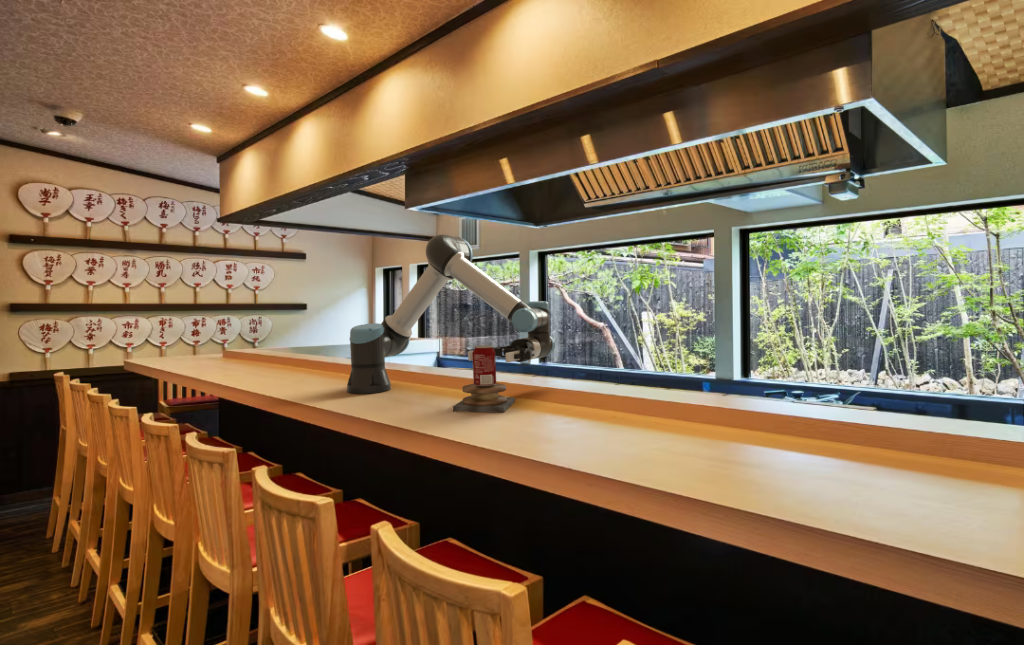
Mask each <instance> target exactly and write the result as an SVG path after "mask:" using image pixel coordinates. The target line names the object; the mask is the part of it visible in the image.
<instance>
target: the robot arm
mask: <svg viewBox="0 0 1024 645" xmlns="http://www.w3.org/2000/svg"><path fill="white" fill-rule="evenodd" d="M473 251H474V250H473V248H472V246H471V244H470V243H469V242H468V241H467V240H466V239H464V238H462V237H460V236H452V235H450V234H449V235H448V234H437V235H435V236H433V237H432V238H430V239H429V241H428V242H427V244H426V247H425V257H426V259H427V263H428V265H427V268H426V269H425V270H424V271H423V273H422V274H421V276H419V279H417V281H416V283H415V284H414V285H413V286H412V288H411V290H410V291H409V292H408V293H407V295H406V296H405V297H404V299H403V300H402V301H401V303H400V304H399V306H398V307H397V308H396V310H395V311H394V313H393V314H392V315H387V316H385V317H384V319H383V321H382V322H381V323H378V322H376V323H366V324H365V323H364V324H358V325H355V326H353V327H352V328H350V330H349V342H350V343H349V344H350V346H349V347H350V366H351V368H350V369H351V370H350V374H349V377H348V380H347V383H346V384H347V385H346V392H347V393H348V394H360V395H361V394H362V395H363V394H376V393H377V394H378V393H382V392H383V393H384V392H388V391H390V390H391V389H392V384H391V379H390V378H389V375H388V372H387V370H386V359H385V358H389V357H394V356H399V355H400V354H401V353H403V352H405V351H406V350H407V349H408V347H409V345H410V338H411V337H412V335H413V331H412V328H413V327H414V326H415V325H416V323H417V322H418V321H419V319H420V318H421V316H422V315H423V314H424V312H425V311H426V310H427V308H429V305H431V303H432V302H433V301H434V299H435V298H436V297H437V295H438V294H439V293H440V291H441V290H442V289H443V288H444V286H445V285H446V283H447V282H448V281H453V280H456V281H457V282H459V283H460V284H462V285H463V286H464V287H465V288H466V289H468V290H470V292H472V293H473V294H474V295H475V296H477V297H478V298H480V300H482V301H483V302H484V303H486V304H487V305H489V306H490V307H491V308H493V309H494V310H495V311H496V312H498V313H499V314H500V315H501V316H503V318H506V319H507V320H508V321H509V322H510V323H511V325H512V327H513V328H514V329H515V330H516V331H518V332H519V333H527V337H523V338H517V339H514V340H512V341H511V343H510V345H509V344H508V345H505V346H495V347H494V346H493V349H494V351H495V357H499V358H501V359H502V358H505V363H507V364H508V363H512V362H516V363H524V362H528V363H529V362H531V361H532V360H535V359H540V358H545V357H549V356H550V355H551V354H553V353H554V351H555V349H556V341H555V340H554V338H553V337H552V336H551V333H550V312H551V311H550V306H549V302H548V301H545V300H544V301H543V300H539V301H538V300H537V301H535V300H534V301H528V302H527V303H525V302H524V301H522V300H521V299H520V298H518V296H516V295H514V294H513V293H512V292H511V291H509V290H508V289H507V288H505V287H504V286H503V285H502V284H500V283H499V282H498V281H496V280H495V279H494V278H492V277H491V276H489V275H488V274H487V273H486V272H484V271H483V270H482V269H480V268H479V267H478V266H476V265H475V264H474V263H472V262H473V258H474V252H473ZM473 351H474V350H469V351H467V357H468V361H473V357H472V352H473Z"/></svg>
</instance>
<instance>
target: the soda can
mask: <svg viewBox="0 0 1024 645" xmlns="http://www.w3.org/2000/svg"><path fill="white" fill-rule="evenodd" d="M493 348H494V346H493V345H491V344H485V345H474V347H473V350H472V351H473V352H472V357H473V360H472V377H473V378H472V379H473V380H472V381H473V383H472V384H474V385H475V386H476V387H478V388H489V387H493V386H494V385H496V383H497V364H496V363H497V362H496V361H497V360H496V356H495V351H494V349H493Z"/></svg>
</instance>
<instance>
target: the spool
mask: <svg viewBox="0 0 1024 645" xmlns="http://www.w3.org/2000/svg"><path fill="white" fill-rule="evenodd" d="M461 389H462V392H463V393H465V394H470V395H468V396H464V397H463V398H462V399H461V400H460V401H459V402H457V403H455V404H454V405H452V412H453V411H469V412H468V413H500V414H501V413H503V414H504V413H505V412H506V411H507V410H508V409H509V408H511V406H512V405H514V404H515V402H516V397H515V396H513V397H512V396H506V395H502V394H500V393H503V392H505V391H506V390H507V385H506V384H504V383H498V382H496V385H494V386H493V387H489V388H478V387H476V386H475V385H474V384H473V383H470V384H466V385H462V388H461Z"/></svg>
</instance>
